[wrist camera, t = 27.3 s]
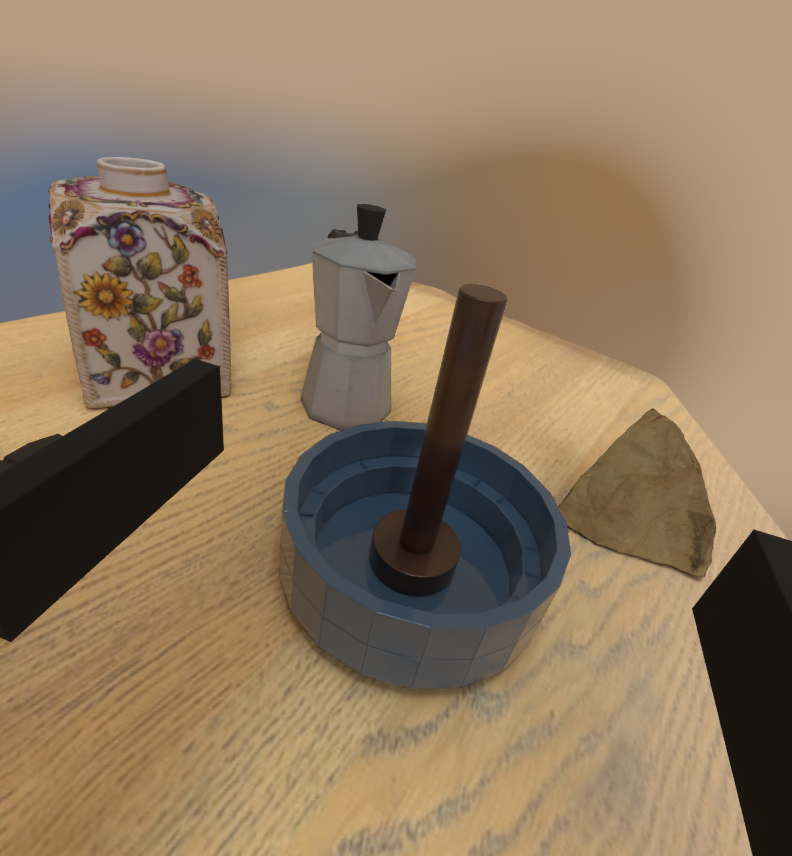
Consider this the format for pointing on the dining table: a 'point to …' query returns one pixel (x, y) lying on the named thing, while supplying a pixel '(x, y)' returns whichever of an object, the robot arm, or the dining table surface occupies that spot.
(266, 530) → the dining table surface
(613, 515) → the rock
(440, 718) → the dining table surface
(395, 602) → the bowl
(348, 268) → the coffee maker
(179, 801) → the dining table surface
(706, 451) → the dining table surface
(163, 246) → the decorative jar
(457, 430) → the upright rod on disc
